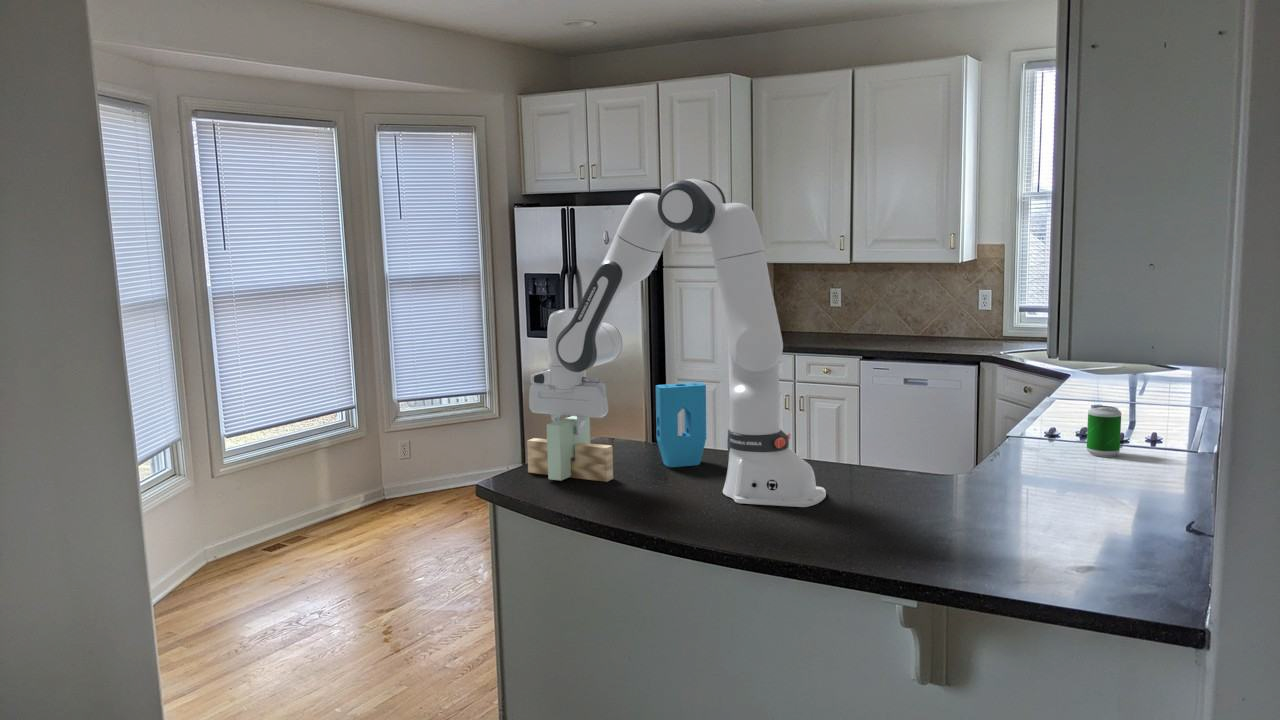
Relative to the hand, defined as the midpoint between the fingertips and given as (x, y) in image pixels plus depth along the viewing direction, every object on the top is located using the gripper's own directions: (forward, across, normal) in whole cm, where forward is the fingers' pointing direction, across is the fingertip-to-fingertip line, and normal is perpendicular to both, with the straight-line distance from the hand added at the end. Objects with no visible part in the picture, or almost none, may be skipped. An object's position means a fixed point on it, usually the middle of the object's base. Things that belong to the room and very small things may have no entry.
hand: (569, 433), depth 228 cm
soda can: (+11, -114, -71) cm, 135 cm away
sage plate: (+10, 0, 0) cm, 10 cm away
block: (+11, -20, -21) cm, 31 cm away
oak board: (+10, 0, 0) cm, 10 cm away
